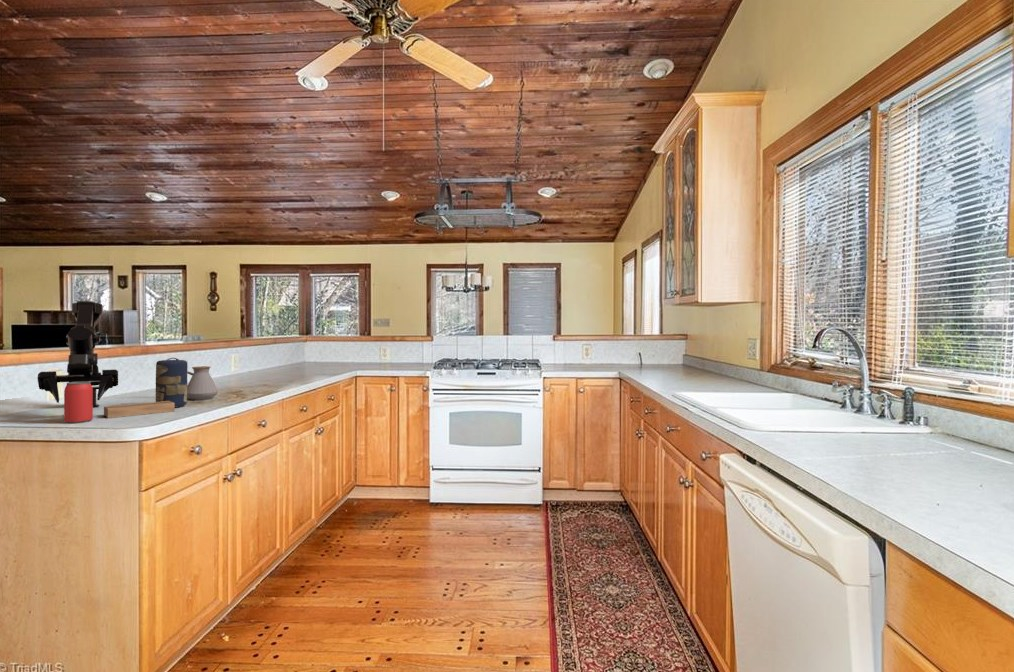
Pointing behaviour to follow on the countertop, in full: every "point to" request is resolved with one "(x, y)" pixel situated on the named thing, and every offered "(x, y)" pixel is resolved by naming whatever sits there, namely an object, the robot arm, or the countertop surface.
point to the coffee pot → (201, 384)
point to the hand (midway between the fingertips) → (78, 400)
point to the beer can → (78, 402)
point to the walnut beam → (138, 409)
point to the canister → (171, 381)
